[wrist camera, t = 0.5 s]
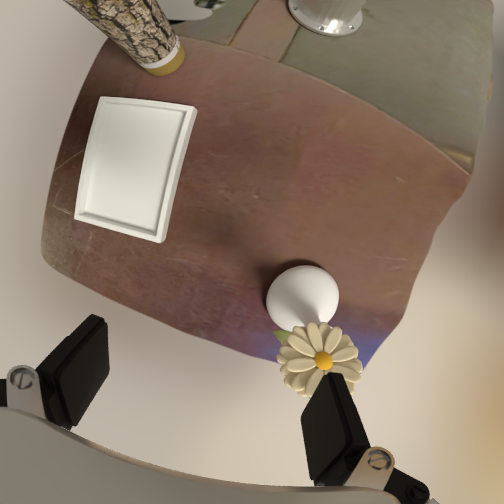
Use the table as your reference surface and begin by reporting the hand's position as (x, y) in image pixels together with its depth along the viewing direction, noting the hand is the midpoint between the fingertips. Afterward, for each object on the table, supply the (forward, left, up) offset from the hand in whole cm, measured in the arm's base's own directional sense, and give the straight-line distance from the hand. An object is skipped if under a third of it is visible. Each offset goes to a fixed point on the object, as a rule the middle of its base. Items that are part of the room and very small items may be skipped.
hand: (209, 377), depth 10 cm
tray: (-6, -19, -31) cm, 37 cm away
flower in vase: (+7, +11, -31) cm, 34 cm away
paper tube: (-24, -19, -31) cm, 44 cm away
